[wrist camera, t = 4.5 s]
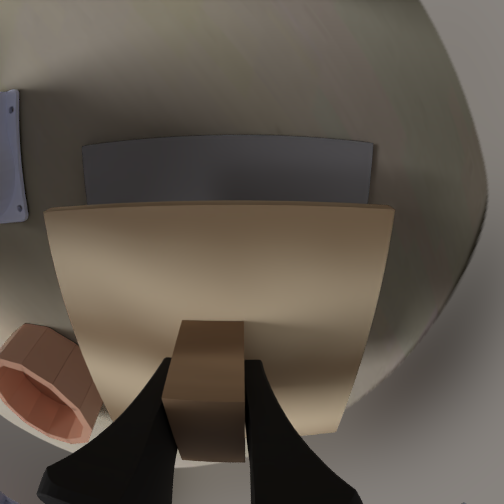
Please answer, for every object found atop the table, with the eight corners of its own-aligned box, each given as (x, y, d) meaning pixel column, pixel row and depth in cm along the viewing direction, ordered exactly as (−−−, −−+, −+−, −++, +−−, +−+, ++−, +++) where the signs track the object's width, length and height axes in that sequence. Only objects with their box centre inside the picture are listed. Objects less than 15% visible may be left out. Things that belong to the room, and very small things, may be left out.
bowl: (-2, 318, 21) (-29, 348, 16) (85, 331, 21) (60, 373, 17) (38, 396, 25) (21, 426, 21) (119, 414, 26) (107, 453, 21)
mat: (85, 145, 16) (81, 146, 15) (369, 142, 16) (373, 143, 16) (126, 363, 23) (124, 367, 22) (334, 365, 23) (336, 369, 23)
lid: (51, 207, 10) (-25, 254, 6) (387, 205, 11) (460, 255, 6) (118, 419, 15) (99, 480, 11) (334, 424, 16) (350, 488, 11)
